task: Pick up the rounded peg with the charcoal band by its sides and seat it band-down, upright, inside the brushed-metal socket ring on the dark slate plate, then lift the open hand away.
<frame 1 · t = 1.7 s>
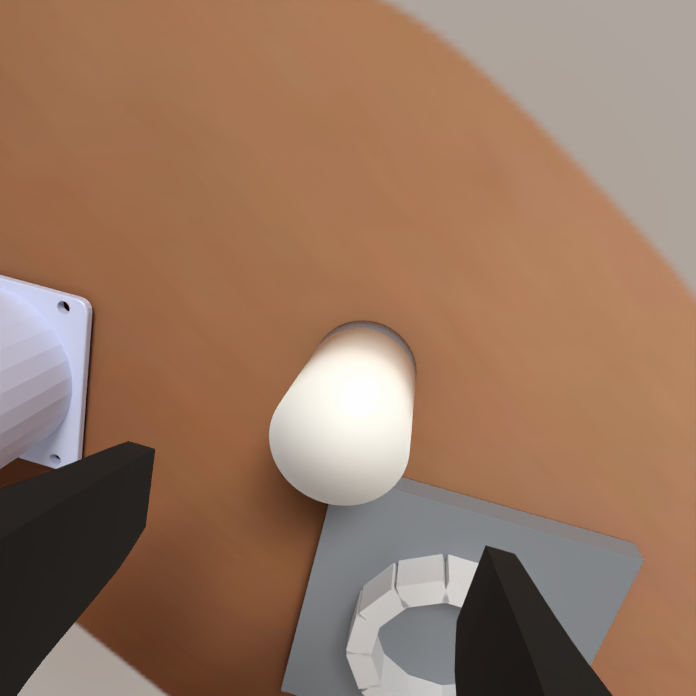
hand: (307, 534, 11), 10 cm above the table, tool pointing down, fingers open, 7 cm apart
socket holder: (442, 614, 24), on the table
rounded peg: (363, 370, 21), on the table
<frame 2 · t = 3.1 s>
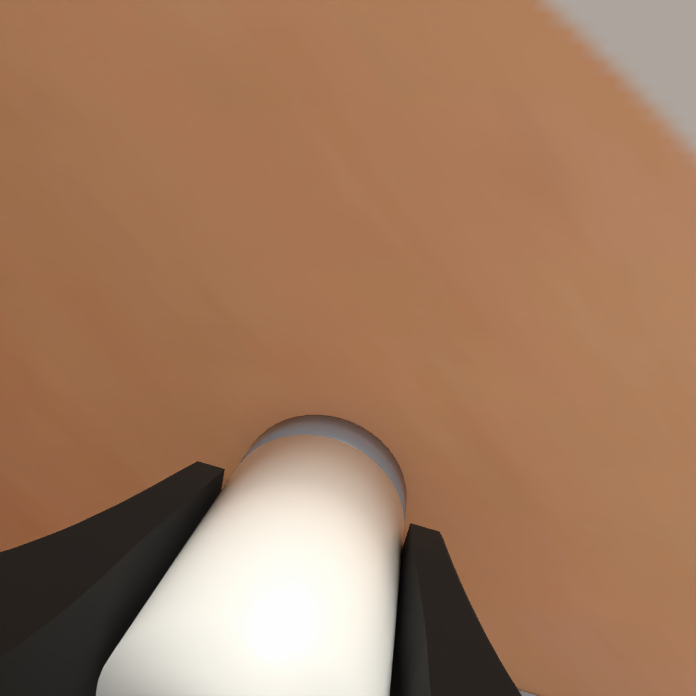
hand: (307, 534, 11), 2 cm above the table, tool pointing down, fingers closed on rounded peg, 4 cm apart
rounded peg: (322, 491, 13), on the table, touching gripper
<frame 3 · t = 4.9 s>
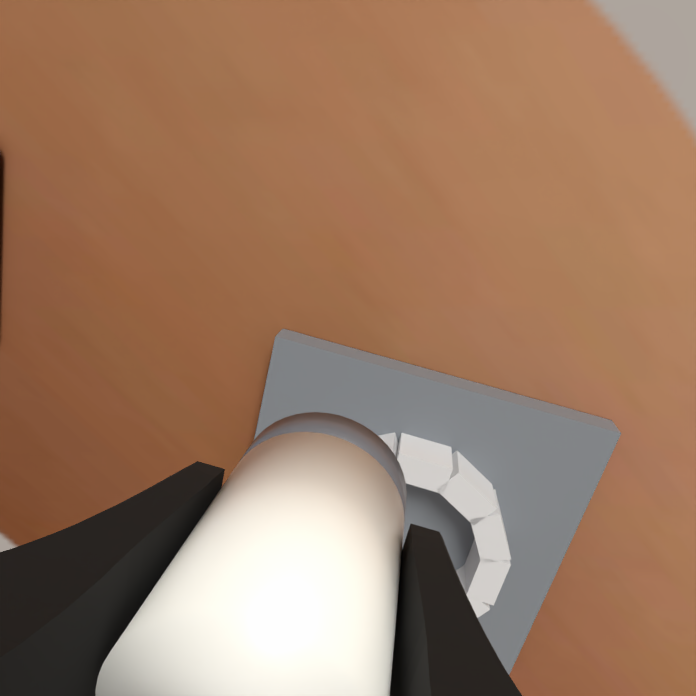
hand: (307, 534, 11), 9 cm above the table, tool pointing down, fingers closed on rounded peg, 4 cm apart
socket holder: (399, 511, 21), on the table
rounded peg: (322, 489, 13), point 7 cm above the table, touching gripper
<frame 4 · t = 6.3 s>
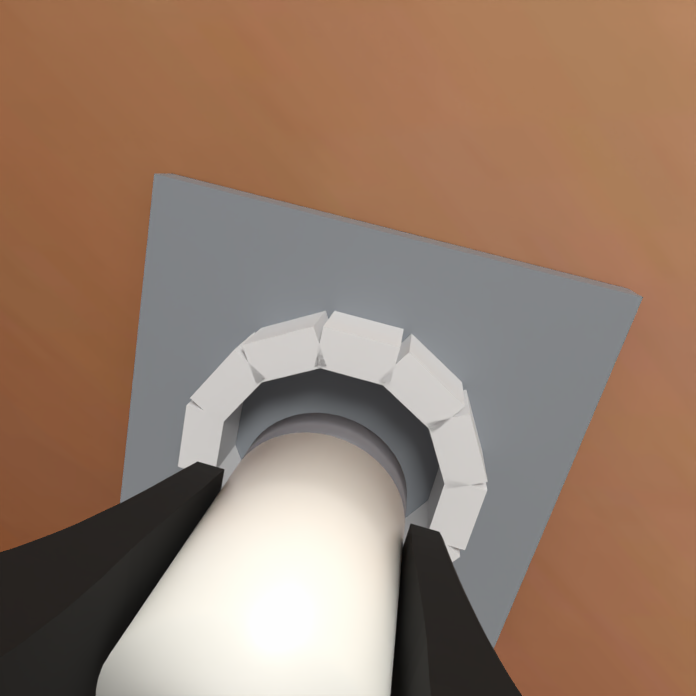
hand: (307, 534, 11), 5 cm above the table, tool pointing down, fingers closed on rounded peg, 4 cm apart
socket holder: (342, 432, 16), on the table
rounded peg: (322, 490, 13), point 3 cm above the table, touching gripper
when the fingers open (4 cm above the table, at t = 7.0 s): rounded peg stays where it is, resting on socket holder.
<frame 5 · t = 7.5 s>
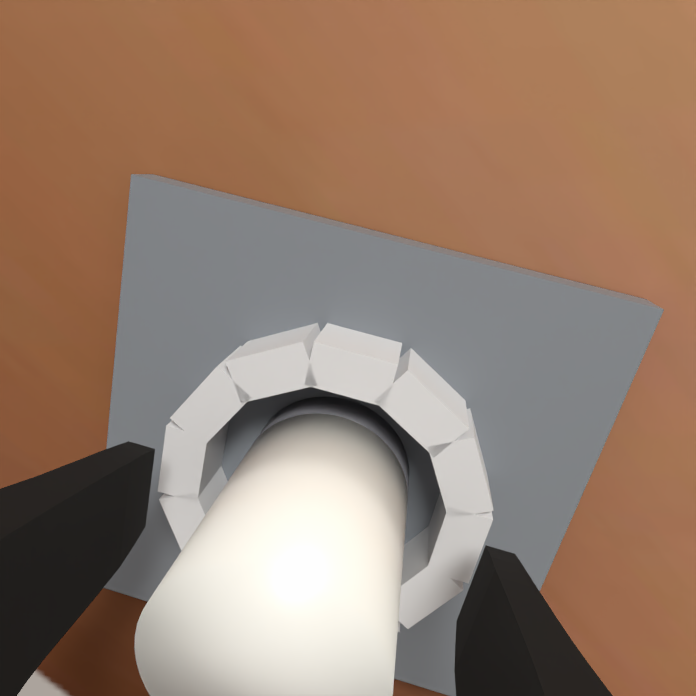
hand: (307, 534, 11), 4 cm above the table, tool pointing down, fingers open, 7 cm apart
socket holder: (336, 452, 15), on the table
rounded peg: (330, 469, 14), point 1 cm above the table, touching socket holder
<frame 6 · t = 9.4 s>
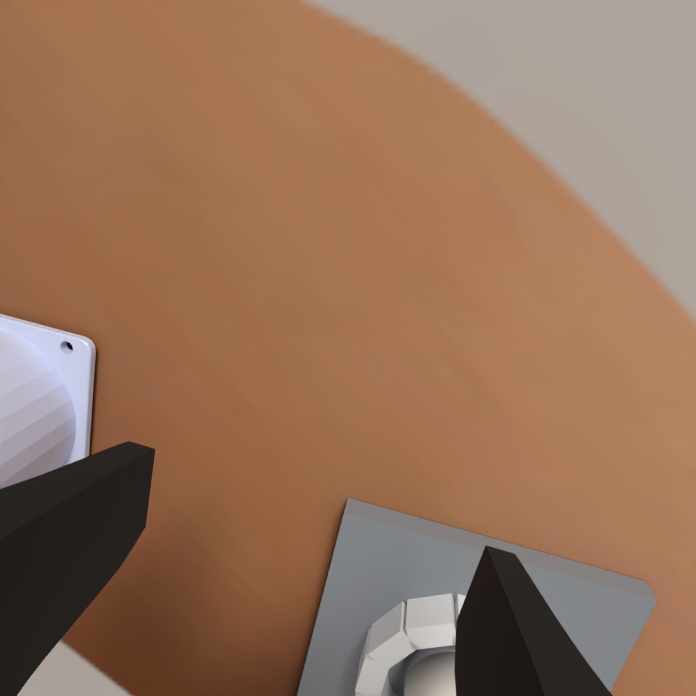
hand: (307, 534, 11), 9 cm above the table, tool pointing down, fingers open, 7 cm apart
socket holder: (452, 650, 23), on the table
rounded peg: (453, 669, 22), point 1 cm above the table, touching socket holder
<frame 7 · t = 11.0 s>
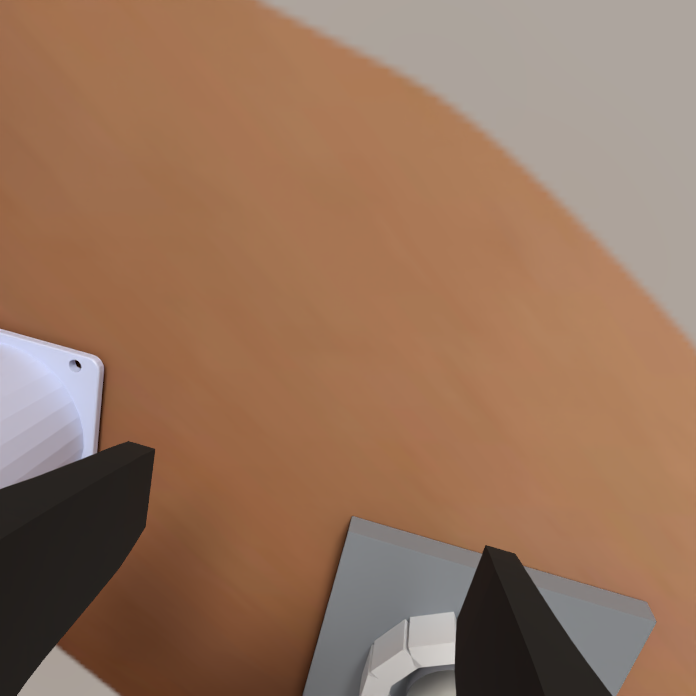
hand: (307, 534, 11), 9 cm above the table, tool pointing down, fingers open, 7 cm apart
socket holder: (453, 666, 24), on the table
rounded peg: (454, 686, 23), point 1 cm above the table, touching socket holder
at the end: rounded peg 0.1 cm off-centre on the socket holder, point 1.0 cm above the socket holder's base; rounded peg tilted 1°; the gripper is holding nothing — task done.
